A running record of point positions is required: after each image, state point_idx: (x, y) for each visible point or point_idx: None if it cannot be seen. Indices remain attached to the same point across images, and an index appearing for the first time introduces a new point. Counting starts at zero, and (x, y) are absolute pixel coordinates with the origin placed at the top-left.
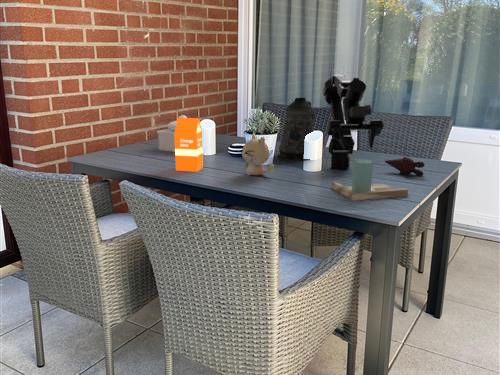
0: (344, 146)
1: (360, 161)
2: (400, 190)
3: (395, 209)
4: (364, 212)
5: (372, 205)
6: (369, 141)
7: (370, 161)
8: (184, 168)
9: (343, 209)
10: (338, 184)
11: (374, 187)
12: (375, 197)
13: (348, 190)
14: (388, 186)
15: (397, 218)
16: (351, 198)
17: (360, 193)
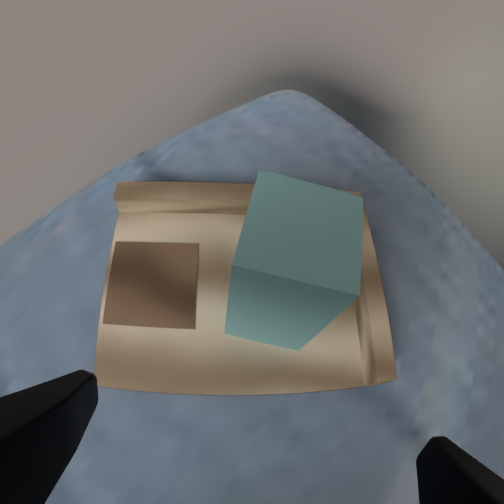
0: (448, 439)
1: (329, 224)
2: (151, 182)
3: (247, 128)
4: (341, 137)
5: (298, 167)
6: (34, 501)
7: (254, 202)
8: None
9: (389, 170)
10: (381, 329)
11: (175, 336)
12: None
13: (364, 234)
14: (100, 328)
15: (278, 94)
16: None
17: None
